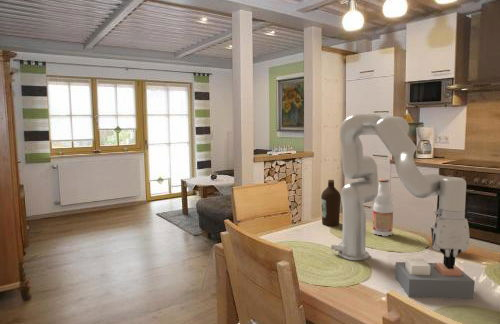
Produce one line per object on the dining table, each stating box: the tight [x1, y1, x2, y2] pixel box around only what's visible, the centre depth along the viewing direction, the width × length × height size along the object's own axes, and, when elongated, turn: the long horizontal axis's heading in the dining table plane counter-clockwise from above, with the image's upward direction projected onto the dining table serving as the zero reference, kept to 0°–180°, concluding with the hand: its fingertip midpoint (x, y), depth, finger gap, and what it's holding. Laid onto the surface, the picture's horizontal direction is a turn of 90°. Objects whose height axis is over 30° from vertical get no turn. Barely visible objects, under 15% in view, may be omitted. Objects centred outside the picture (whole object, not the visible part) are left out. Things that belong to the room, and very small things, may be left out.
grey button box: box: [394, 261, 475, 300], centre depth 119 cm, size 20×14×6 cm
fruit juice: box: [372, 178, 394, 237], centre depth 175 cm, size 9×9×28 cm
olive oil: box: [320, 179, 342, 227], centre depth 194 cm, size 11×11×25 cm
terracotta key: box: [434, 262, 463, 276], centre depth 118 cm, size 6×6×4 cm
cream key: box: [405, 258, 430, 275], centre depth 119 cm, size 6×6×4 cm
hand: (448, 266), depth 118 cm, fingers closed
